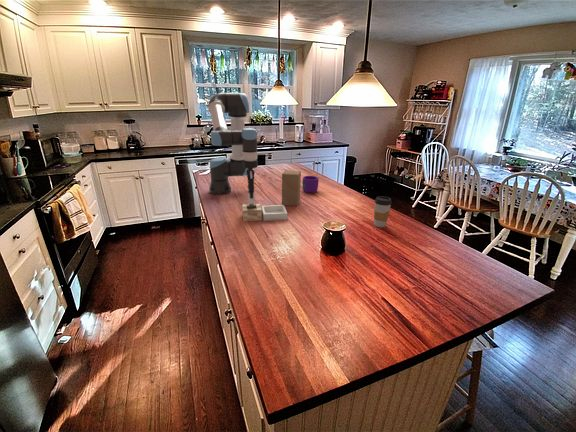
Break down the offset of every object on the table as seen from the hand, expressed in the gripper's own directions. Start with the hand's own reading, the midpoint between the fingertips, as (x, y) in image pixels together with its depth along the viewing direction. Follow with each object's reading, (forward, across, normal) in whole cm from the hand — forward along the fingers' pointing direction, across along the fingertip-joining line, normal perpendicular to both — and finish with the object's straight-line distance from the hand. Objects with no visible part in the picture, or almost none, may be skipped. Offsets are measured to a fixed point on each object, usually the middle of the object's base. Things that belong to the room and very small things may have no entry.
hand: (251, 202), depth 159 cm
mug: (+10, -46, +44) cm, 64 cm away
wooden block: (+9, -20, +26) cm, 34 cm away
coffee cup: (+9, +21, +67) cm, 70 cm away
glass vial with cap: (+5, 0, 0) cm, 5 cm away
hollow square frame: (+9, 0, 0) cm, 9 cm away
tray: (+9, 0, +12) cm, 15 cm away
